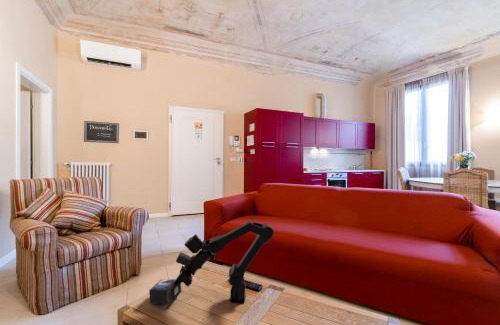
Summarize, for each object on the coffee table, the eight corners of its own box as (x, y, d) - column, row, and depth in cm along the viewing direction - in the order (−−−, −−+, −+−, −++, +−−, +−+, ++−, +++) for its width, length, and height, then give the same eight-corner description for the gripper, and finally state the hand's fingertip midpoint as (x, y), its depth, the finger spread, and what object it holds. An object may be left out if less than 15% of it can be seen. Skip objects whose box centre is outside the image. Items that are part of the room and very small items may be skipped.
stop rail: (178, 292, 124) (178, 289, 124) (165, 309, 110) (165, 305, 110) (175, 292, 124) (175, 289, 124) (161, 308, 110) (161, 305, 110)
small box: (170, 289, 111) (148, 289, 113) (171, 304, 111) (149, 304, 113) (180, 278, 121) (160, 278, 123) (181, 291, 122) (161, 292, 123)
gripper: (189, 240, 126) (166, 263, 125) (184, 255, 107) (156, 281, 106) (205, 256, 127) (182, 278, 126) (202, 273, 108) (175, 299, 107)
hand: (174, 283), depth 116 cm, fingers closed, pressing on small box
